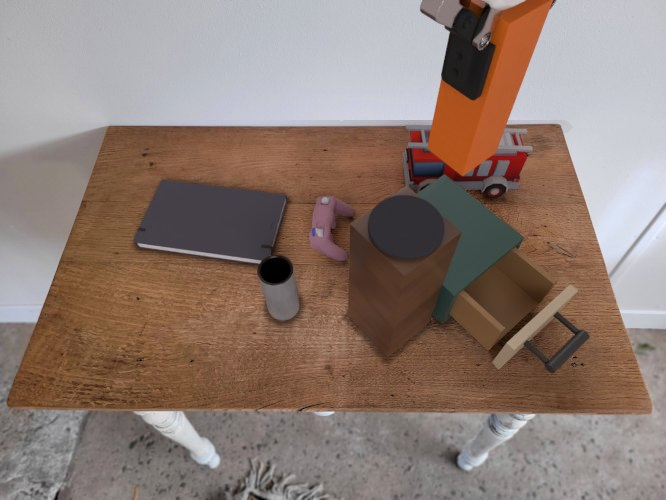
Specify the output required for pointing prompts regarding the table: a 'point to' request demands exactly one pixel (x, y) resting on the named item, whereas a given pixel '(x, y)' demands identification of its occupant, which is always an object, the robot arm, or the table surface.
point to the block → (487, 90)
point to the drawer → (515, 309)
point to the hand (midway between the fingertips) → (484, 71)
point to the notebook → (212, 221)
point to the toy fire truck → (486, 176)
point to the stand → (394, 285)
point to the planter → (279, 286)
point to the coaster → (406, 227)
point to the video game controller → (328, 226)
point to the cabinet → (468, 239)
